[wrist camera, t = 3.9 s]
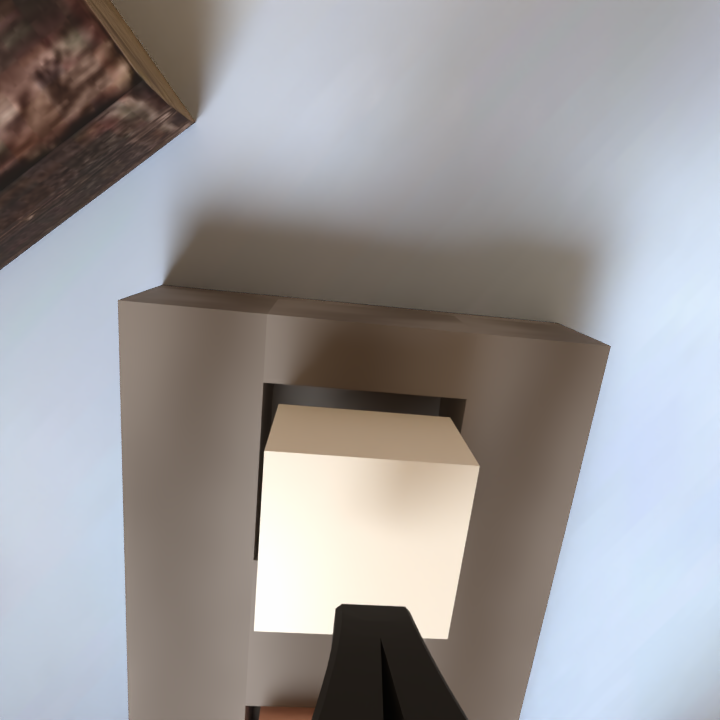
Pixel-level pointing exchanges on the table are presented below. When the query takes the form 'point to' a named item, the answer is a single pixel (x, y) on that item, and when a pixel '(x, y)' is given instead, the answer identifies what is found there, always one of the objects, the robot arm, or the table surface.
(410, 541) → the cream key
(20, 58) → the hardback book
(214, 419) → the key bed
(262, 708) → the terracotta key
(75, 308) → the table surface
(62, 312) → the table surface
